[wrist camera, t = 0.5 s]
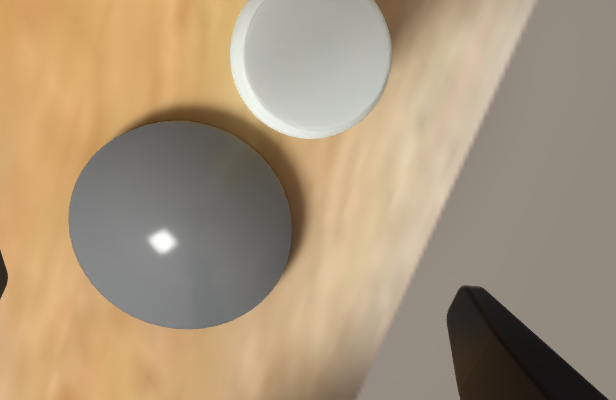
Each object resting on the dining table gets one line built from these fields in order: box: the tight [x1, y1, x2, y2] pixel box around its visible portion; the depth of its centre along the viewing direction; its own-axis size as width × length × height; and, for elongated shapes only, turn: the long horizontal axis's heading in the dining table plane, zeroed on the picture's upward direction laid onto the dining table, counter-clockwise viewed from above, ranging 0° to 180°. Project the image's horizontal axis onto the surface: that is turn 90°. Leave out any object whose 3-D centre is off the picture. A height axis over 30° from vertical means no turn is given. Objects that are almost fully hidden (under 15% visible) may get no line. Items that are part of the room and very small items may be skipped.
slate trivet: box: [69, 120, 292, 329], centre depth 23 cm, size 11×11×1 cm
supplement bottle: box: [230, 0, 392, 139], centre depth 16 cm, size 5×5×10 cm
